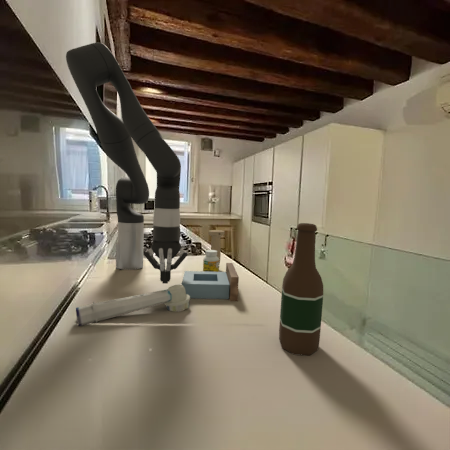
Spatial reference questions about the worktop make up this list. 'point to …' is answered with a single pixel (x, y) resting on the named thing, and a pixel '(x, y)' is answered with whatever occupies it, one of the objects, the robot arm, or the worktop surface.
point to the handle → (216, 240)
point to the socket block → (206, 284)
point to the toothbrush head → (133, 304)
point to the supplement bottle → (211, 261)
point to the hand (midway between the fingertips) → (165, 282)
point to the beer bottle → (302, 297)
